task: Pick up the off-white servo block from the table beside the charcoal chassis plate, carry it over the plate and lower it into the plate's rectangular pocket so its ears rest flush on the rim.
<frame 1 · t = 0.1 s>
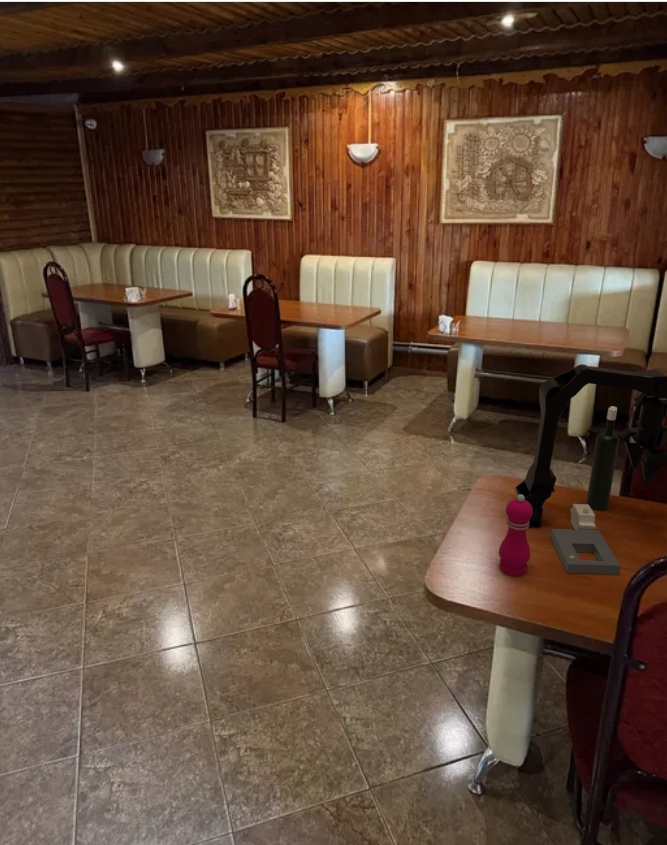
hand: (640, 475, 165), 15 cm above the table, fingers open, 9 cm apart
servo: (581, 527, 169), on the table
pepper mill: (512, 569, 152), on the table
chassis: (582, 555, 157), on the table
wine bottle: (596, 506, 180), on the table
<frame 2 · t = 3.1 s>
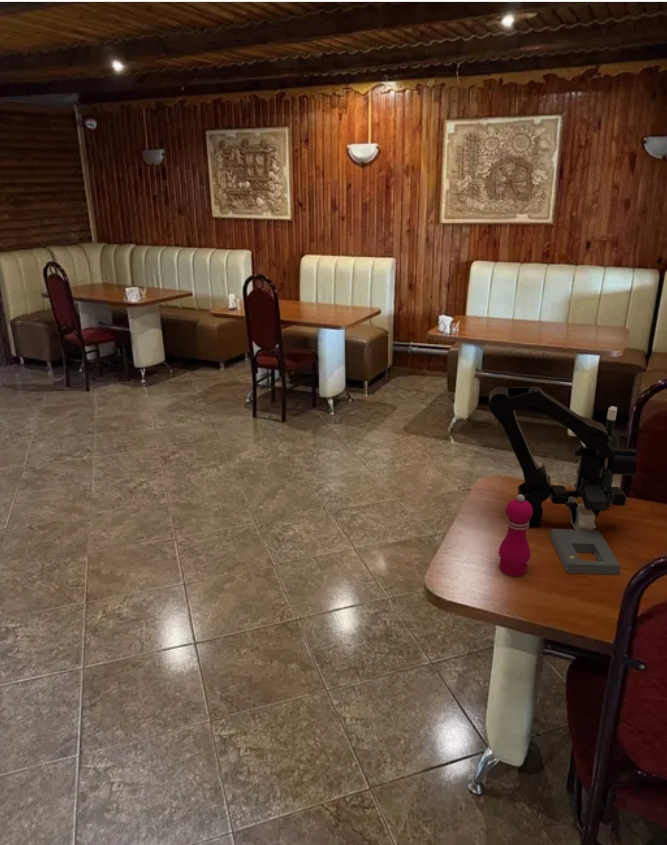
hand: (581, 523, 169), 1 cm above the table, fingers closed on servo, 4 cm apart
servo: (581, 527, 169), on the table, touching gripper
everything else where it was.
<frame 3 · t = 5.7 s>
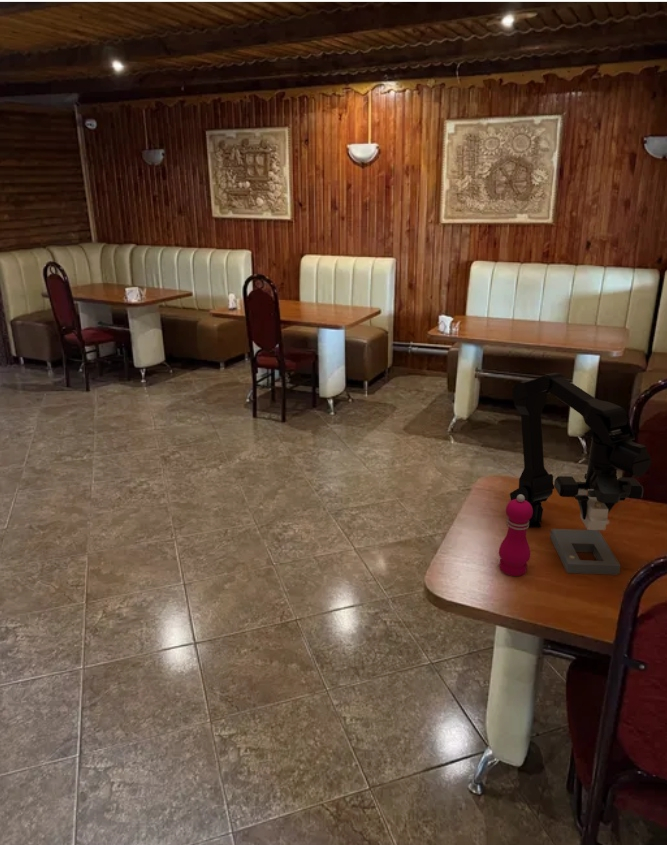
hand: (593, 518, 150), 12 cm above the table, fingers closed on servo, 4 cm apart
servo: (592, 523, 151), point 10 cm above the table, touching gripper
everything else where it was.
when the fingers open (3 cm above the table, at t = 8.3 s): servo drops 2 cm, resting on chassis.
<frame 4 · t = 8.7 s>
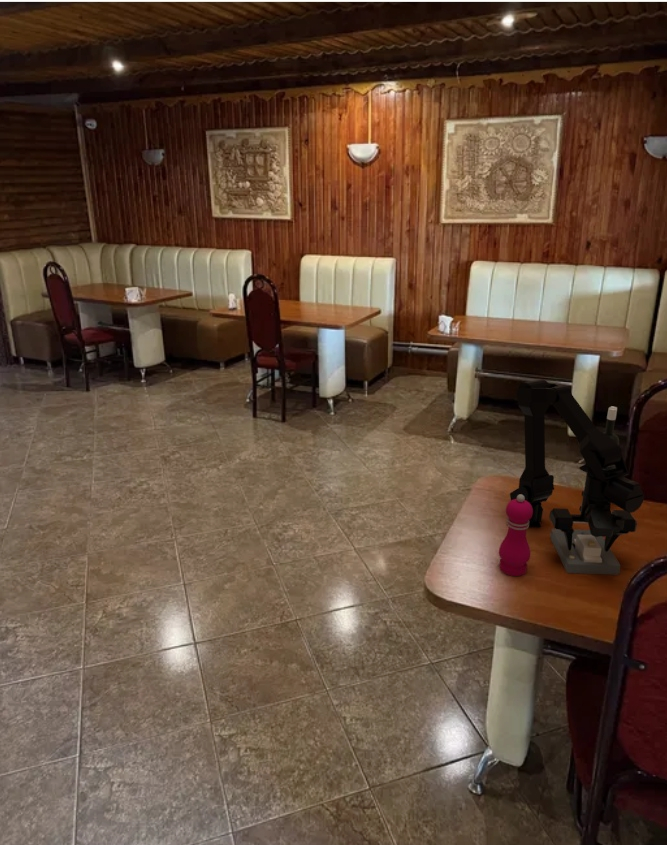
hand: (587, 550, 153), 3 cm above the table, fingers open, 8 cm apart
servo: (585, 560, 154), resting on chassis
everything else where it was.
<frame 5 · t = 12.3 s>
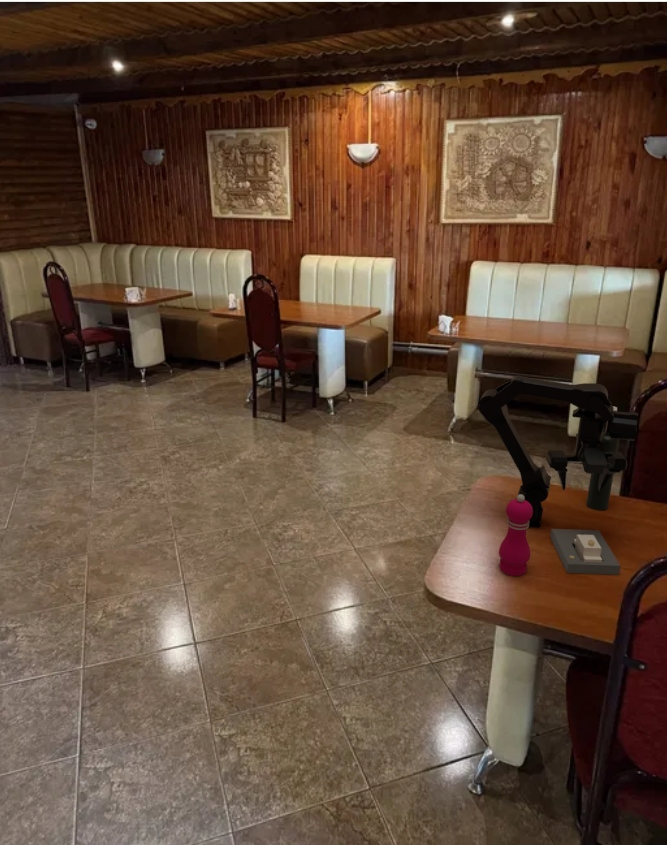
hand: (581, 489, 163), 12 cm above the table, fingers open, 9 cm apart
nothing on the table moved.
at the end: servo 0.0 cm from the target spot on the chassis, point 0.0 cm above the chassis's base; servo tilted 0°; the gripper is holding nothing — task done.
